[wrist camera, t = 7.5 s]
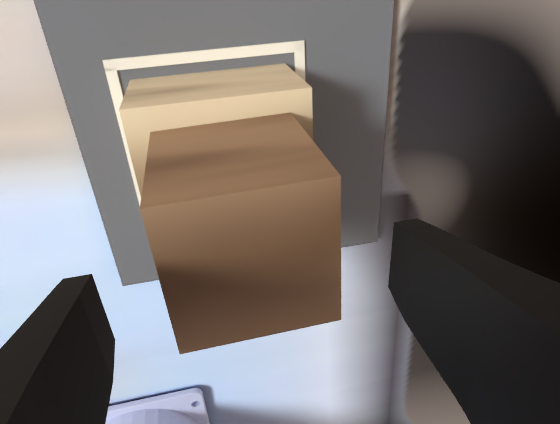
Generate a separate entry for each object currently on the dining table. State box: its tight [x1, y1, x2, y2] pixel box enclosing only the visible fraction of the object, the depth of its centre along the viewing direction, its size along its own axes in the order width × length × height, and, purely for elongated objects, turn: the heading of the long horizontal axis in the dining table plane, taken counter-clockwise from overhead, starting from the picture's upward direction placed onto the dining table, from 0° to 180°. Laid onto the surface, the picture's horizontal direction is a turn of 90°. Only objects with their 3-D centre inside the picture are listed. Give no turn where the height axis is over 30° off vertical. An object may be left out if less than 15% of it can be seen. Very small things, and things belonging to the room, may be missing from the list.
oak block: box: [119, 63, 313, 196], centre depth 17 cm, size 6×6×4 cm
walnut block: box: [140, 112, 341, 354], centre depth 13 cm, size 4×4×5 cm
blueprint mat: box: [34, 0, 394, 286], centre depth 19 cm, size 13×13×1 cm
